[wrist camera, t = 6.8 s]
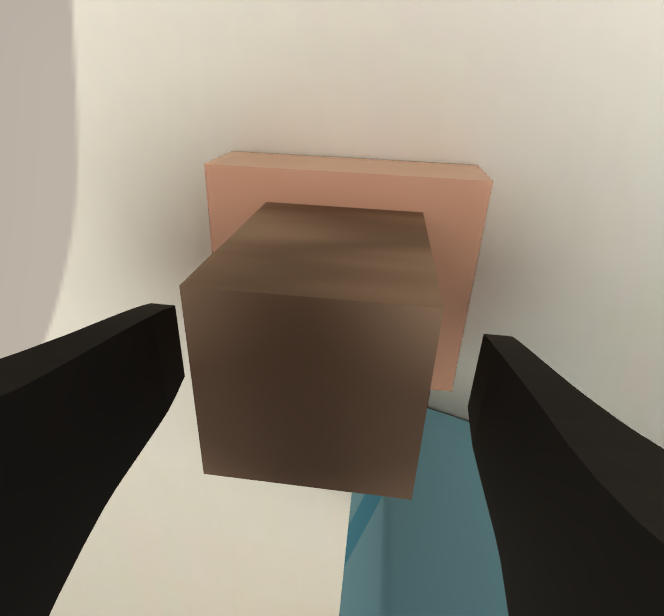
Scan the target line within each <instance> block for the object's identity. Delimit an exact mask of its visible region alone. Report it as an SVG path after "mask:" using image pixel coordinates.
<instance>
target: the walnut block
mask: <svg viewBox="0 0 664 616" xmlns="http://www.w3.org/2000/svg"><path fill="white" fill-rule="evenodd" d="M180 294H181V301H182V309H183V317H184V325H185V332H186V340H187V348H188V355H189V363H190V371H191V378H192V386H193V394H194V402H195V409H196V417H197V425H198V432H199V440H200V448H201V455H202V463H203V471H204V474H210V475H218V476H226V477H234V478H242V479H250V480H258V481H266V482H274V483H282V484H290V485H298V486H306V487H314V488H322V489H329V490H337V491H345V492H353V493H361V494H369V495H377V496H385V497H393V498H401V499H409V500H412V496H413V490H414V484H415V478H416V472H417V466H418V460H419V454H420V448H421V442H422V436H423V430H424V424H425V418H426V412H427V406H428V400H429V394H430V388H431V382H432V376H433V370H434V365H435V359H436V353H437V347H438V341H439V335H440V329H441V323H442V317H443V311H444V307H443V302H442V298H441V293H440V288H439V284H438V279H437V274H436V270H435V265H434V261H433V256H432V251H431V247H430V242H429V237H428V233H427V228H426V224H425V219H424V214H423V212H410V211H395V210H380V209H365V208H351V207H336V206H321V205H306V204H291V203H276V202H266V203H265V204H264V205H263V206H262V207H261V208H260V209H259V210H257V211H256V212H255V213H254V214H253V215H252V216H251V217H250V218H249V219H248V220H247V221H246V222H245V223H244V224H243V225H242V226H241V227H240V228H239V229H238V230H237V231H236V232H235V233H234V234H233V235H232V236H231V237H230V238H228V239H227V240H226V241H225V242H224V243H223V244H222V245H221V246H220V247H219V248H218V249H217V250H216V251H215V252H214V253H213V254H212V255H211V256H210V257H209V258H208V259H207V260H206V261H205V262H204V263H203V264H202V265H200V266H199V267H198V268H197V269H196V270H195V271H194V272H193V273H192V274H191V275H190V276H189V277H188V278H187V279H186V280H185V281H184V282H183V283H182V284H181V285H180Z"/></svg>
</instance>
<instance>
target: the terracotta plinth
mask: <svg viewBox="0 0 664 616" xmlns="http://www.w3.org/2000/svg"><path fill="white" fill-rule="evenodd" d="M204 165H205V177H206V188H207V199H208V210H209V221H210V232H211V243H212V254H213V253H214V252H215V251H216V250H217V249H218V248H219V247H220V246H221V245H222V244H223V243H224V242H225V241H226V240H227V239H228V238H230V237H231V236H232V235H233V234H234V233H235V232H236V231H237V230H238V229H239V228H240V227H241V226H242V225H243V224H244V223H245V222H246V221H247V220H248V219H249V218H250V217H251V216H252V215H253V214H254V213H255V212H256V211H257V210H259V209H260V208H261V207H262V206H263V205H264V204H265V203H266V202H276V203H291V204H306V205H321V206H336V207H351V208H365V209H380V210H395V211H410V212H423V214H424V219H425V224H426V228H427V233H428V237H429V242H430V247H431V251H432V256H433V261H434V265H435V270H436V274H437V279H438V284H439V288H440V293H441V298H442V302H443V307H444V311H443V317H442V323H441V329H440V335H439V341H438V347H437V353H436V359H435V365H434V370H433V376H432V382H431V388H430V389H434V390H443V391H452V388H453V383H454V378H455V373H456V368H457V363H458V358H459V352H460V347H461V342H462V337H463V332H464V327H465V322H466V317H467V311H468V306H469V301H470V296H471V291H472V286H473V281H474V275H475V270H476V265H477V260H478V255H479V250H480V245H481V240H482V234H483V229H484V224H485V219H486V214H487V209H488V204H489V198H490V193H491V188H492V183H493V181H492V180H491V179H490V177H489V176H488V175H487V174H486V173H485V172H484V171H483V170H482V169H481V168H480V167H479V166H478V165H466V164H448V163H430V162H413V161H395V160H377V159H360V158H342V157H324V156H307V155H289V154H271V153H254V152H236V151H232V152H230V153H227V154H225V155H223V156H221V157H218V158H216V159H214V160H212V161H210V162H207V163H205V164H204Z"/></svg>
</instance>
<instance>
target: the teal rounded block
mask: <svg viewBox="0 0 664 616" xmlns="http://www.w3.org/2000/svg"><path fill="white" fill-rule="evenodd" d="M339 616H509V615H508V608H507V602H506V595H505V588H504V582H503V575H502V568H501V562H500V557H499V552H498V547H497V543H496V538H495V534H494V530H493V526H492V522H491V519H490V515H489V511H488V507H487V503H486V499H485V495H484V491H483V487H482V483H481V480H480V476H479V472H478V468H477V464H476V460H475V455H474V451H473V447H472V440H471V432H470V423H469V422H468V421H465V420H462V419H459V418H456V417H453V416H450V415H447V414H444V413H441V412H438V411H435V410H432V409H429V408H427V412H426V418H425V424H424V430H423V436H422V442H421V448H420V454H419V460H418V466H417V472H416V478H415V484H414V490H413V496H412V500H409V499H401V498H393V497H385V496H377V495H369V494H361V493H353V492H352V496H351V506H350V515H349V525H348V535H347V545H346V554H345V564H344V574H343V584H342V593H341V603H340V613H339Z"/></svg>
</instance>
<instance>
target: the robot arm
mask: <svg viewBox="0 0 664 616" xmlns="http://www.w3.org/2000/svg"><path fill="white" fill-rule="evenodd" d="M184 377H185V374H184V367H183V360H182V353H181V345H180V338H179V331H178V324H177V316H176V309H175V306H174V305H163V304H153V303H150V304H146V305H143V306H139V307H136V308H133V309H130V310H128V311H125V312H122V313H120V314H117V315H115V316H112V317H110V318H107V319H105V320H102V321H100V322H97V323H95V324H92V325H90V326H87V327H85V328H82V329H80V330H77V331H75V332H72V333H70V334H67V335H65V336H62V337H59V338H57V339H54V340H51V341H48V342H46V343H43V344H40V345H38V346H35V347H32V348H30V349H27V350H24V351H21V352H19V353H16V354H13V355H10V356H7V357H4V358H1V359H0V616H49V615H50V612H51V610H52V608H53V606H54V604H55V602H56V600H57V597H58V595H59V593H60V591H61V589H62V587H63V585H64V583H65V581H66V579H67V577H68V576H69V574H70V572H71V570H72V568H73V566H74V564H75V562H76V560H77V558H78V556H79V554H80V552H81V550H82V548H83V546H84V544H85V542H86V540H87V538H88V537H89V535H90V533H91V531H92V529H93V527H94V526H95V524H96V522H97V520H98V518H99V516H100V514H101V513H102V511H103V509H104V507H105V505H106V504H107V502H108V501H109V499H110V497H111V496H112V494H113V492H114V491H115V489H116V488H117V486H118V485H119V483H120V482H121V480H122V479H123V477H124V476H125V474H126V473H127V472H128V470H129V469H130V467H131V466H132V464H133V463H134V461H135V460H136V458H137V457H138V455H139V454H140V452H141V451H142V450H143V448H144V447H145V445H146V444H147V442H148V441H149V439H150V438H151V436H152V435H153V433H154V432H155V430H156V429H157V427H158V426H159V424H160V423H161V421H162V420H163V418H164V417H165V415H166V414H167V412H168V410H169V408H170V406H171V404H172V402H173V400H174V398H175V397H176V394H177V392H178V390H179V388H180V386H181V383H182V381H183V379H184ZM468 413H469V423H470V432H471V440H472V447H473V451H474V455H475V460H476V464H477V468H478V472H479V476H480V480H481V483H482V487H483V491H484V495H485V499H486V503H487V507H488V511H489V515H490V519H491V522H492V526H493V530H494V534H495V538H496V543H497V547H498V552H499V557H500V562H501V568H502V575H503V582H504V588H505V595H506V602H507V608H508V615H509V616H664V449H663V448H661V447H660V446H658V445H656V444H655V443H653V442H652V441H650V440H648V439H647V438H645V437H644V436H642V435H640V434H639V433H637V432H636V431H634V430H633V429H631V428H630V427H628V426H627V425H625V424H624V423H622V422H621V421H619V420H618V419H617V418H615V417H614V416H612V415H611V414H610V413H608V412H607V411H606V410H604V409H603V408H601V407H600V406H599V405H597V404H596V403H595V402H593V401H592V400H591V399H589V398H588V397H587V396H585V395H584V394H583V393H581V392H580V391H579V390H578V389H576V388H575V387H574V386H573V385H571V384H570V383H569V382H568V381H566V380H565V379H564V378H563V377H561V376H560V375H559V374H558V373H557V372H555V371H554V370H553V369H552V368H550V367H549V366H548V365H547V364H546V363H545V362H543V361H542V360H541V359H540V358H539V357H537V356H536V355H535V354H534V353H533V352H531V351H530V350H529V349H528V348H527V347H525V346H524V345H523V344H522V343H520V342H519V341H518V340H516V339H515V338H513V337H511V336H500V335H489V334H484V335H483V340H482V344H481V349H480V354H479V358H478V363H477V367H476V372H475V376H474V381H473V386H472V390H471V395H470V399H469V404H468Z"/></svg>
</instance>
